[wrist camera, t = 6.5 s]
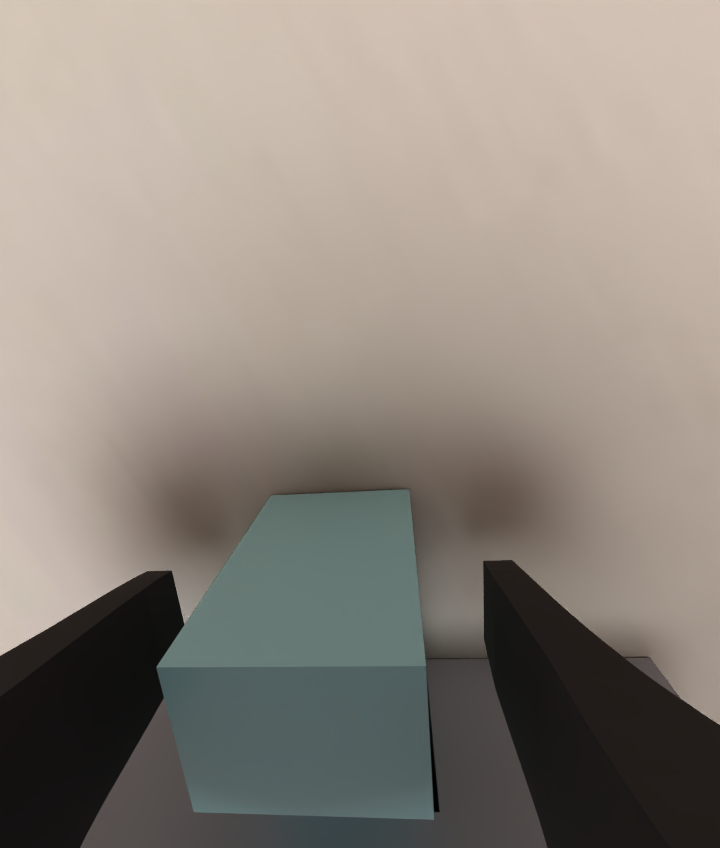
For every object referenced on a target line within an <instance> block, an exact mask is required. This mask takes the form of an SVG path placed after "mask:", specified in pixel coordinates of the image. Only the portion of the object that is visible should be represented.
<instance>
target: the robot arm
mask: <svg viewBox="0 0 720 848" xmlns="http://www.w3.org/2000/svg"><path fill="white" fill-rule="evenodd" d="M483 567H484V641H485V645H486V650H487V654H488V659H489V664H490V668H491V673H492V677H493V681H494V686H495V689H496V692H497V695H498V698H499V701H500V704H501V707H502V711H503V714H504V717H505V720H506V723H507V726H508V729H509V732H510V735H511V738H512V741H513V743H514V746H515V749H516V752H517V755H518V758H519V761H520V764H521V767H522V770H523V773H524V776H525V779H526V782H527V785H528V788H529V791H530V794H531V797H532V800H533V803H534V806H535V809H536V812H537V815H538V818H539V821H540V825H541V828H542V831H543V835H544V838H545V841H546V845H547V848H720V725H719V724H717V723H716V722H714V721H712V720H711V719H709V718H708V717H706V716H705V715H703V714H702V713H700V712H699V711H698V710H696V709H695V708H693V707H692V706H690V705H689V704H687V703H686V702H685V701H683V700H682V699H680V698H679V697H677V696H676V695H674V694H673V693H671V692H670V691H669V690H667V689H666V688H664V687H663V686H661V685H660V684H658V683H657V682H656V681H654V680H653V679H652V678H650V677H649V676H647V675H646V674H645V673H643V672H642V671H641V670H639V669H638V668H637V667H635V666H634V665H633V664H631V663H630V662H629V661H628V660H626V659H625V658H624V657H622V656H621V655H620V654H619V653H617V652H616V651H615V650H614V649H612V648H611V647H610V646H608V645H607V644H606V643H605V642H603V641H602V640H601V639H600V638H598V637H597V636H596V635H595V634H594V633H592V632H591V631H590V630H589V629H588V628H586V627H585V626H584V625H583V624H582V623H581V622H579V621H578V620H577V619H576V618H575V617H574V616H572V615H571V614H570V613H569V612H568V611H567V610H566V609H564V608H563V607H562V606H561V605H560V604H559V603H558V602H557V601H556V600H554V599H553V598H552V597H551V596H550V595H549V594H548V593H547V592H546V591H545V590H544V589H543V588H541V587H540V586H539V585H538V584H537V583H536V582H535V581H534V580H533V579H532V578H531V577H530V576H529V575H528V574H526V573H525V572H524V571H523V570H522V569H521V568H520V567H519V566H518V565H517V564H516V563H515V562H513V561H512V560H502V561H483ZM183 626H184V621H183V617H182V613H181V608H180V604H179V600H178V596H177V591H176V587H175V583H174V578H173V574H172V571H147V572H145V573H143V574H141V575H139V576H137V577H135V578H133V579H131V580H130V581H128V582H126V583H124V584H122V585H121V586H119V587H117V588H115V589H114V590H112V591H110V592H109V593H107V594H105V595H104V596H102V597H100V598H99V599H97V600H95V601H93V602H92V603H90V604H88V605H87V606H85V607H83V608H82V609H80V610H78V611H77V612H75V613H73V614H72V615H70V616H68V617H67V618H65V619H63V620H62V621H60V622H58V623H57V624H55V625H53V626H52V627H50V628H48V629H47V630H45V631H43V632H42V633H40V634H38V635H36V636H34V637H33V638H31V639H29V640H27V641H26V642H24V643H22V644H20V645H19V646H17V647H15V648H13V649H12V650H10V651H8V652H6V653H5V654H3V655H1V656H0V848H80V847H81V845H82V843H83V841H84V839H85V837H86V835H87V833H88V831H89V829H90V827H91V826H92V824H93V822H94V820H95V818H96V816H97V814H98V812H99V811H100V809H101V807H102V805H103V803H104V802H105V800H106V798H107V796H108V795H109V793H110V791H111V789H112V788H113V786H114V784H115V782H116V781H117V779H118V777H119V776H120V774H121V772H122V770H123V769H124V767H125V765H126V763H127V762H128V760H129V758H130V756H131V755H132V753H133V751H134V749H135V748H136V746H137V744H138V743H139V741H140V739H141V737H142V736H143V734H144V732H145V730H146V729H147V727H148V725H149V723H150V722H151V720H152V718H153V716H154V715H155V713H156V711H157V709H158V707H159V706H160V704H161V702H162V700H163V699H164V695H163V692H162V688H161V684H160V680H159V676H158V672H157V668H156V667H157V665H158V664H159V662H160V661H161V659H162V658H163V656H164V655H165V653H166V652H167V650H168V649H169V647H170V646H171V644H172V643H173V641H174V640H175V638H176V637H177V635H178V634H179V632H180V631H181V629H182V628H183Z"/></svg>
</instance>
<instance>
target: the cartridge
mask: <svg viewBox="0 0 720 848" xmlns="http://www.w3.org/2000/svg"><path fill="white" fill-rule="evenodd" d="M156 668H157V672H158V676H159V680H160V684H161V688H162V692H163V695H164V699H165V703H166V707H167V711H168V715H169V719H170V722H171V726H172V730H173V734H174V738H175V742H176V746H177V749H178V753H179V757H180V761H181V765H182V769H183V773H184V776H185V780H186V784H187V788H188V792H189V796H190V800H191V803H192V807H193V811H194V812H202V813H235V814H267V815H299V816H331V817H364V818H396V819H428V820H434V807H433V788H432V770H431V751H430V732H429V713H428V694H427V675H426V661H425V650H424V640H423V629H422V618H421V608H420V597H419V586H418V576H417V565H416V555H415V544H414V533H413V523H412V512H411V501H410V491H409V489H400V490H378V491H357V492H335V493H313V494H291V495H271V496H270V498H269V499H268V501H267V502H266V504H265V505H264V507H263V508H262V510H261V511H260V513H259V514H258V516H257V517H256V519H255V520H254V522H253V523H252V525H251V526H250V528H249V529H248V531H247V532H246V534H245V535H244V537H243V538H242V540H241V541H240V543H239V544H238V546H237V547H236V549H235V550H234V552H233V553H232V555H231V556H230V558H229V559H228V561H227V562H226V564H225V565H224V567H223V568H222V570H221V571H220V573H219V574H218V576H217V577H216V579H215V580H214V582H213V583H212V585H211V586H210V588H209V589H208V591H207V592H206V594H205V595H204V597H203V598H202V600H201V601H200V603H199V604H198V606H197V607H196V608H195V610H194V611H193V613H192V614H191V616H190V617H189V619H188V620H187V622H186V623H185V625H184V626H183V628H182V629H181V631H180V632H179V634H178V635H177V637H176V638H175V640H174V641H173V643H172V644H171V646H170V647H169V649H168V650H167V652H166V653H165V655H164V656H163V658H162V659H161V661H160V662H159V664H158V665H157V667H156Z"/></svg>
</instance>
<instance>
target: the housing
mask: <svg viewBox="0 0 720 848" xmlns="http://www.w3.org/2000/svg"><path fill="white" fill-rule="evenodd" d="M625 659H626V660H628V661H629V662H630V663H631V664H633V665H634V666H635V667H637V668H638V669H639V670H641V671H642V672H643V673H645V674H646V675H647V676H649V677H650V678H652V679H653V680H654V681H656V682H657V683H658V684H660V685H661V686H663V687H664V688H666V689H667V690H669V691H670V692H671V693H673V694H674V695H676V696H677V697H679V696H678V695H677V693H676V692H675V691H674V689H673V688H672V687H671V685H670V684H669V683H668V681H667V680H666V679H665V677H664V676H663V675H662V673H661V672H660V671H659V669H658V668H657V667H656V665H655V664H654V663H653V661H652V660H651V658H625ZM425 661H426V675H427V694H428V713H429V732H430V751H431V770H432V788H433V807H434V820H428V819H396V818H364V817H331V816H299V815H267V814H235V813H202V812H194V811H193V807H192V803H191V800H190V796H189V792H188V788H187V784H186V780H185V776H184V773H183V769H182V765H181V761H180V757H179V753H178V749H177V746H176V742H175V738H174V734H173V730H172V726H171V722H170V719H169V715H168V711H167V707H166V703H165V699H163V700H162V702H161V704H160V706H159V707H158V709H157V711H156V713H155V715H154V716H153V718H152V720H151V722H150V723H149V725H148V727H147V729H146V730H145V732H144V734H143V736H142V737H141V739H140V741H139V743H138V744H137V746H136V748H135V749H134V751H133V753H132V755H131V756H130V758H129V760H128V762H127V763H126V765H125V767H124V769H123V770H122V772H121V774H120V776H119V777H118V779H117V781H116V782H115V784H114V786H113V788H112V789H111V791H110V793H109V795H108V796H107V798H106V800H105V802H104V803H103V805H102V807H101V809H100V811H99V812H98V814H97V816H96V818H95V820H94V822H93V824H92V826H91V827H90V829H89V831H88V833H87V835H86V837H85V839H84V841H83V843H82V845H81V847H80V848H547V845H546V841H545V838H544V835H543V831H542V828H541V825H540V821H539V818H538V815H537V812H536V809H535V806H534V803H533V800H532V797H531V794H530V791H529V788H528V785H527V782H526V779H525V776H524V773H523V770H522V767H521V764H520V761H519V758H518V755H517V752H516V749H515V746H514V743H513V741H512V738H511V735H510V732H509V729H508V726H507V723H506V720H505V717H504V714H503V711H502V707H501V704H500V701H499V698H498V695H497V692H496V689H495V686H494V681H493V677H492V673H491V668H490V664H489V659H425ZM679 698H680V697H679Z"/></svg>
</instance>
